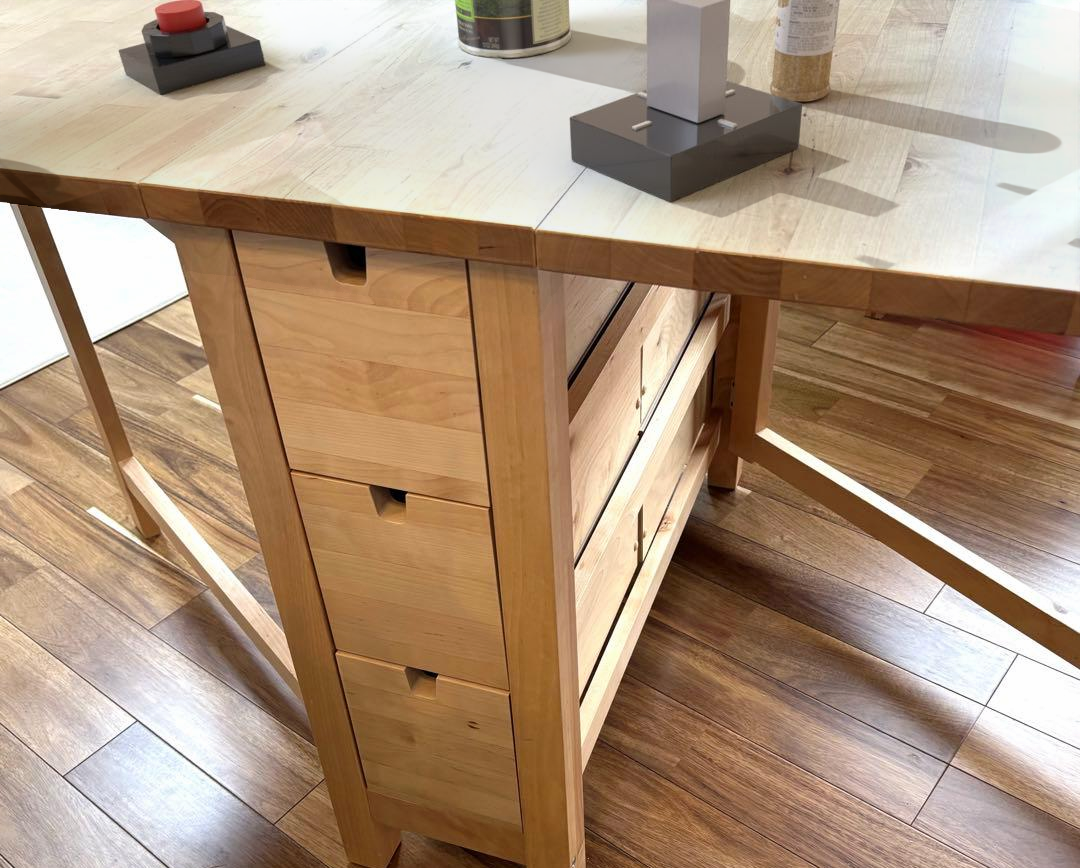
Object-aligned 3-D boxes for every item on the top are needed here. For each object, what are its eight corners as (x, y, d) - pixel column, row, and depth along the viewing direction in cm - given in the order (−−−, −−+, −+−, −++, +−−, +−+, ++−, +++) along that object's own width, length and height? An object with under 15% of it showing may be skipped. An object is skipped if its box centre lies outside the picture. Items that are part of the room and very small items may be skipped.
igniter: (160, 96, 89) (146, 46, 87) (126, 75, 94) (111, 28, 92) (266, 66, 94) (254, 17, 91) (227, 48, 98) (215, 1, 96)
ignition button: (171, 37, 89) (165, 15, 88) (153, 29, 92) (147, 7, 91) (214, 26, 91) (209, 4, 90) (195, 18, 94) (190, -4, 92)
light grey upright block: (725, 113, 69) (731, -7, 65) (697, 123, 68) (701, 3, 63) (673, 96, 72) (675, -20, 68) (646, 105, 71) (646, -11, 67)
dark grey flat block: (670, 202, 67) (671, 153, 65) (571, 160, 73) (568, 114, 71) (798, 148, 72) (803, 101, 70) (695, 113, 78) (697, 68, 76)
